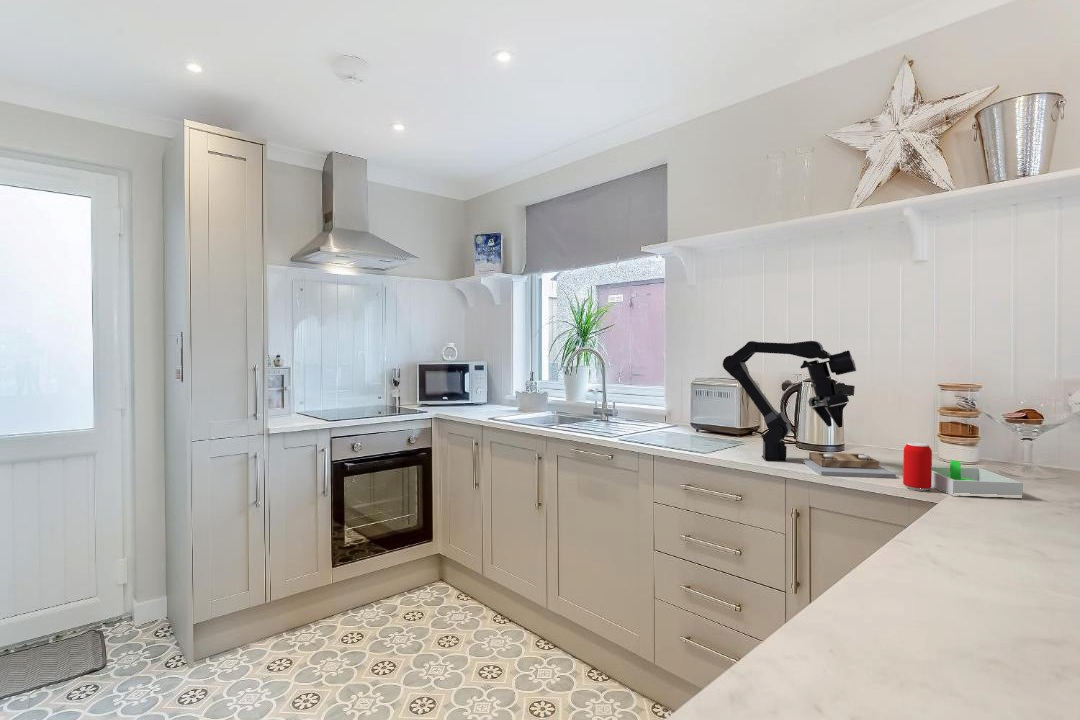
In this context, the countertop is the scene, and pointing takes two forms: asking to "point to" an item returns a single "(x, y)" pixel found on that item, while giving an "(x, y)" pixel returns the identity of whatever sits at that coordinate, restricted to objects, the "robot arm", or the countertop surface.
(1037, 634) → the countertop surface
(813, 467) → the boss board
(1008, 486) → the frame
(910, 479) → the beverage can
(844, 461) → the panel
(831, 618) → the countertop surface
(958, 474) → the mechanical part
